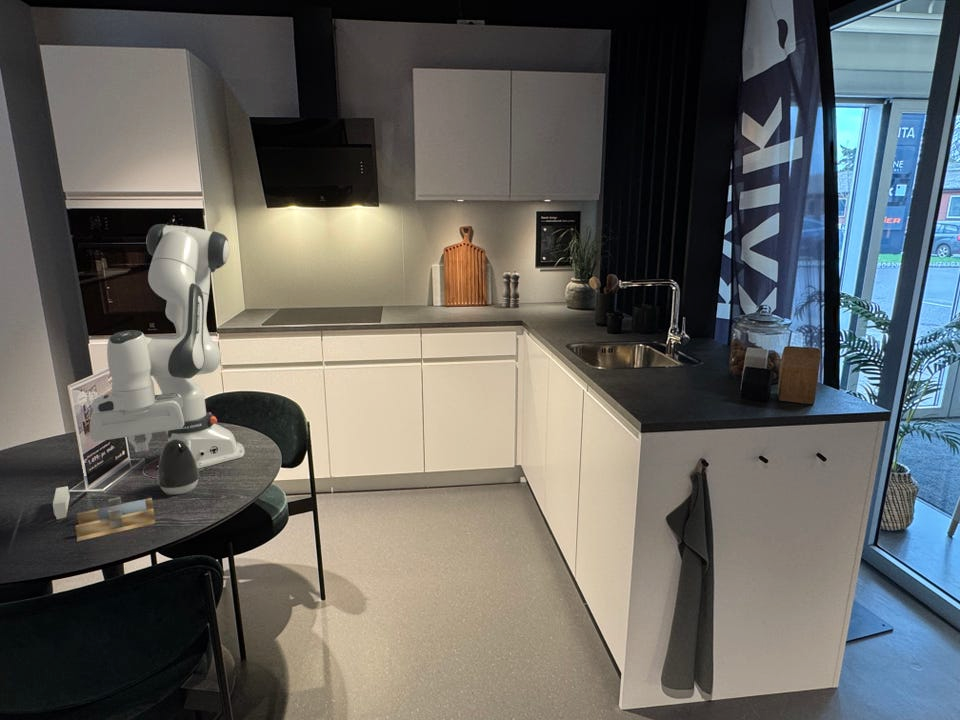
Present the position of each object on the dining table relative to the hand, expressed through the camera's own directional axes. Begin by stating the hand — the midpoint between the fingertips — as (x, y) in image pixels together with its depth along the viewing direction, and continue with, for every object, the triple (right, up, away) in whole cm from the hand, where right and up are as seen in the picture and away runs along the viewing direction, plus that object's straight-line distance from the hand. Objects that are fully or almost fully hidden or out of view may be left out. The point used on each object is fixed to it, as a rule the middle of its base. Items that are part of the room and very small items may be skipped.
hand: (142, 450), depth 146 cm
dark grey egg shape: (+2, -14, +16) cm, 21 cm away
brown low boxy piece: (-8, -19, -4) cm, 21 cm away
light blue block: (-4, -17, -1) cm, 17 cm away
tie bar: (-22, -15, +4) cm, 27 cm away
